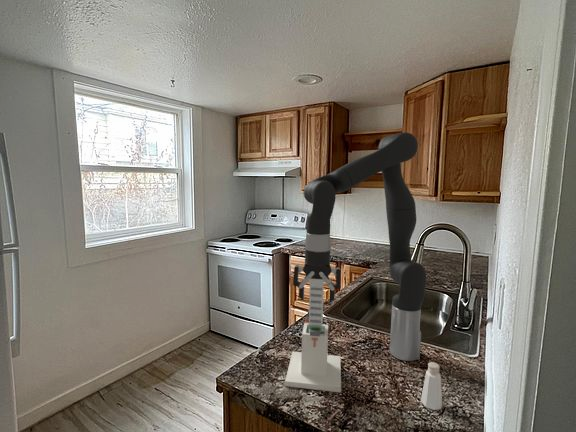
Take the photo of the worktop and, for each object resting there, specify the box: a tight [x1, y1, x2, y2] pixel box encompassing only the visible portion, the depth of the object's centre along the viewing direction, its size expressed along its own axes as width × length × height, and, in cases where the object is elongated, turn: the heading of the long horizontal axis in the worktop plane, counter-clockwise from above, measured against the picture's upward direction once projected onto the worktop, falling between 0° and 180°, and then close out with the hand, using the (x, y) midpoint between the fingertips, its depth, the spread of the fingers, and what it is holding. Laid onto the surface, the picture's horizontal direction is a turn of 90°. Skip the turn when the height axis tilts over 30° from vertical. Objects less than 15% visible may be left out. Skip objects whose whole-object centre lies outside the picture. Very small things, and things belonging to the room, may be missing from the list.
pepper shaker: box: [420, 361, 443, 411], centre depth 81 cm, size 5×5×11 cm
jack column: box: [308, 278, 325, 334], centre depth 92 cm, size 4×4×22 cm
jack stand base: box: [284, 322, 342, 393], centre depth 94 cm, size 16×16×15 cm
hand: (316, 300), depth 92 cm, fingers open, 8 cm apart
